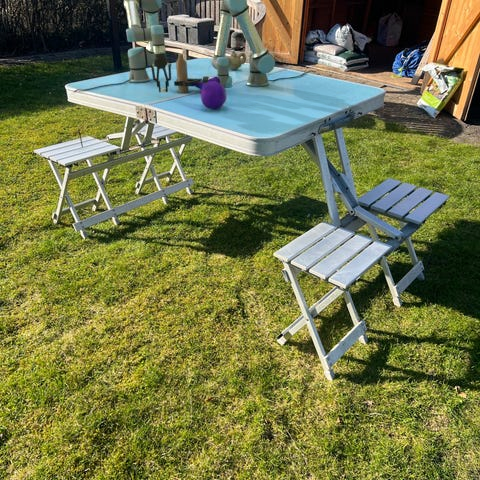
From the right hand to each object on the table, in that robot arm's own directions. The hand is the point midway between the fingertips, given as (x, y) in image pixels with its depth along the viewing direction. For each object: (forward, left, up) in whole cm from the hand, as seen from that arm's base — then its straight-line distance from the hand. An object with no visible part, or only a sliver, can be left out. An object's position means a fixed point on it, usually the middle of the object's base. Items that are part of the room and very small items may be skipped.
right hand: (175, 82), depth 303 cm
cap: (+11, +14, -1) cm, 18 cm away
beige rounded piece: (-63, -60, -6) cm, 87 cm away
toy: (-9, +50, -6) cm, 51 cm away
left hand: (+11, +14, -2) cm, 19 cm away
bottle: (-4, +2, -6) cm, 8 cm away
